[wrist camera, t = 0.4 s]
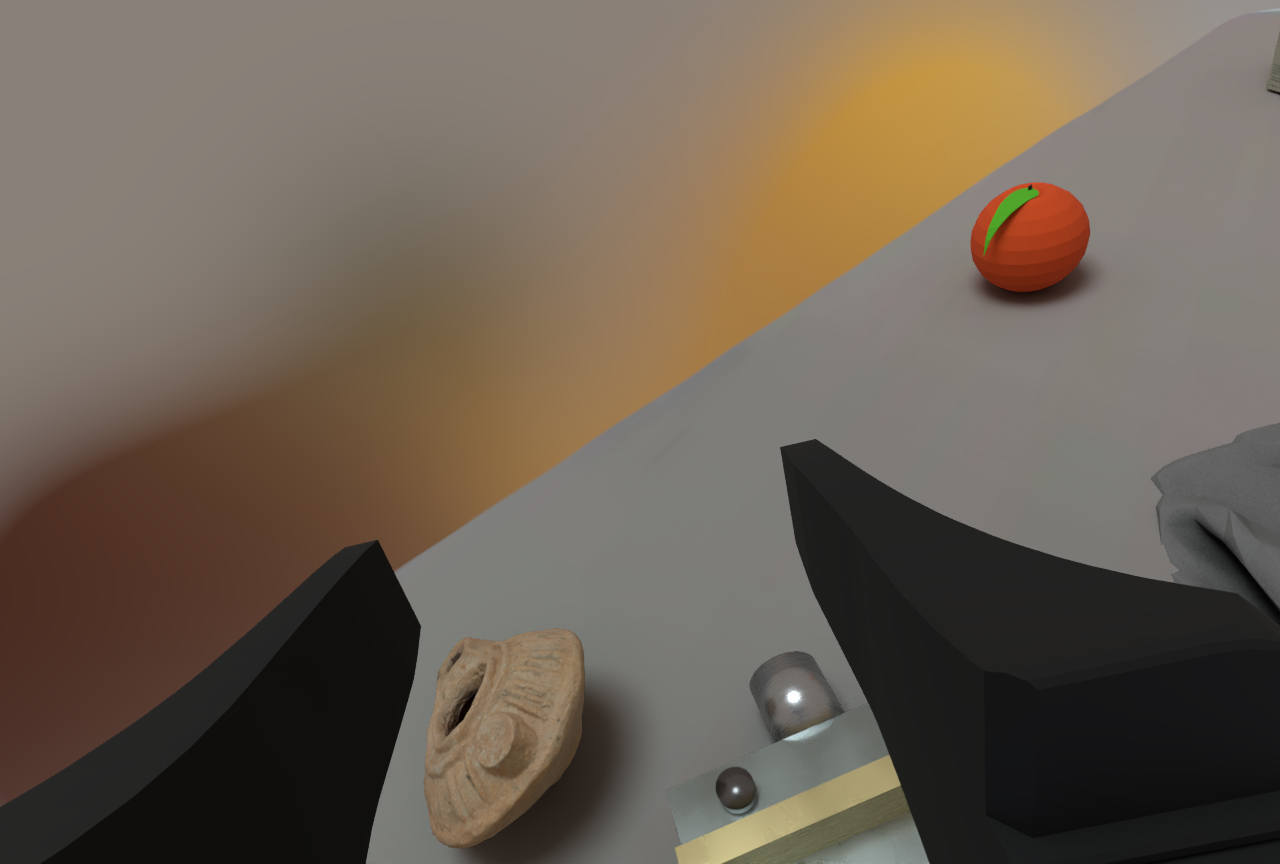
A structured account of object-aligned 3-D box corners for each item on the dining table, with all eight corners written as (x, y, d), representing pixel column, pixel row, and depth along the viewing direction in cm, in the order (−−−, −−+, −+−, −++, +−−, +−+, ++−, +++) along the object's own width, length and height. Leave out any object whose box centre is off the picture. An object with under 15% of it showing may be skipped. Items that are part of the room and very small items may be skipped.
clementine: (1034, 330, 45) (1038, 226, 41) (939, 304, 50) (935, 209, 46) (1108, 271, 48) (1119, 167, 43) (1011, 252, 53) (1012, 157, 49)
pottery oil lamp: (546, 611, 39) (493, 522, 35) (669, 775, 30) (617, 682, 26) (402, 715, 36) (327, 632, 32) (490, 929, 27) (400, 852, 23)
